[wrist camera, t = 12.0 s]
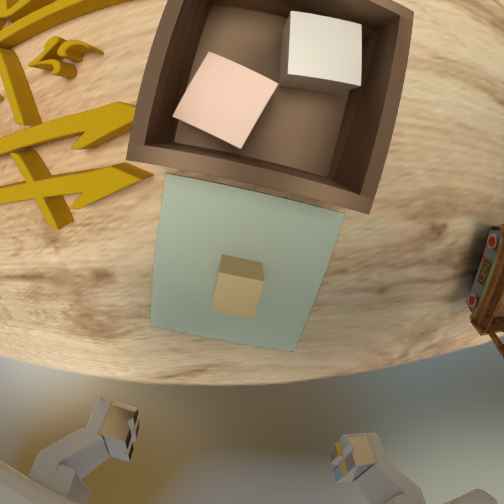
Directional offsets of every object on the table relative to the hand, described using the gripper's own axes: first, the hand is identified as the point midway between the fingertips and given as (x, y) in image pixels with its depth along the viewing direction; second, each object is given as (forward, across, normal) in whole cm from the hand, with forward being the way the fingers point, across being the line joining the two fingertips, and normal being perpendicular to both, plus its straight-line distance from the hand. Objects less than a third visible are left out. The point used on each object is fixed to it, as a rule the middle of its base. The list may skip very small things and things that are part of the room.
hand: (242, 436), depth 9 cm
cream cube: (+13, -1, -16) cm, 21 cm away
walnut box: (+14, +2, -14) cm, 20 cm away
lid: (+15, +1, 0) cm, 15 cm away
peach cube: (+13, +4, -12) cm, 18 cm away
